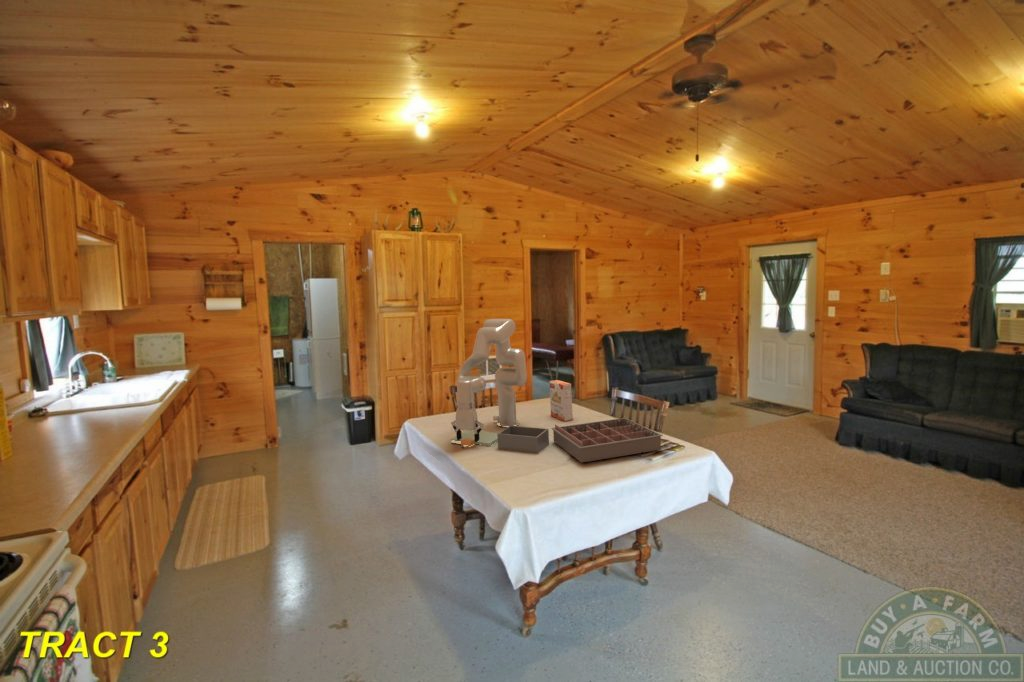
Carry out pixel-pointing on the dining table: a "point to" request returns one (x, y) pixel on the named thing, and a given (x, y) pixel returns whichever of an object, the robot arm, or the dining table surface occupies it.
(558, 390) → the cracker box
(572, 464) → the dining table surface
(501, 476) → the dining table surface
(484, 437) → the lid
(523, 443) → the tub
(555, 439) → the organizer tray
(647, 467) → the dining table surface
